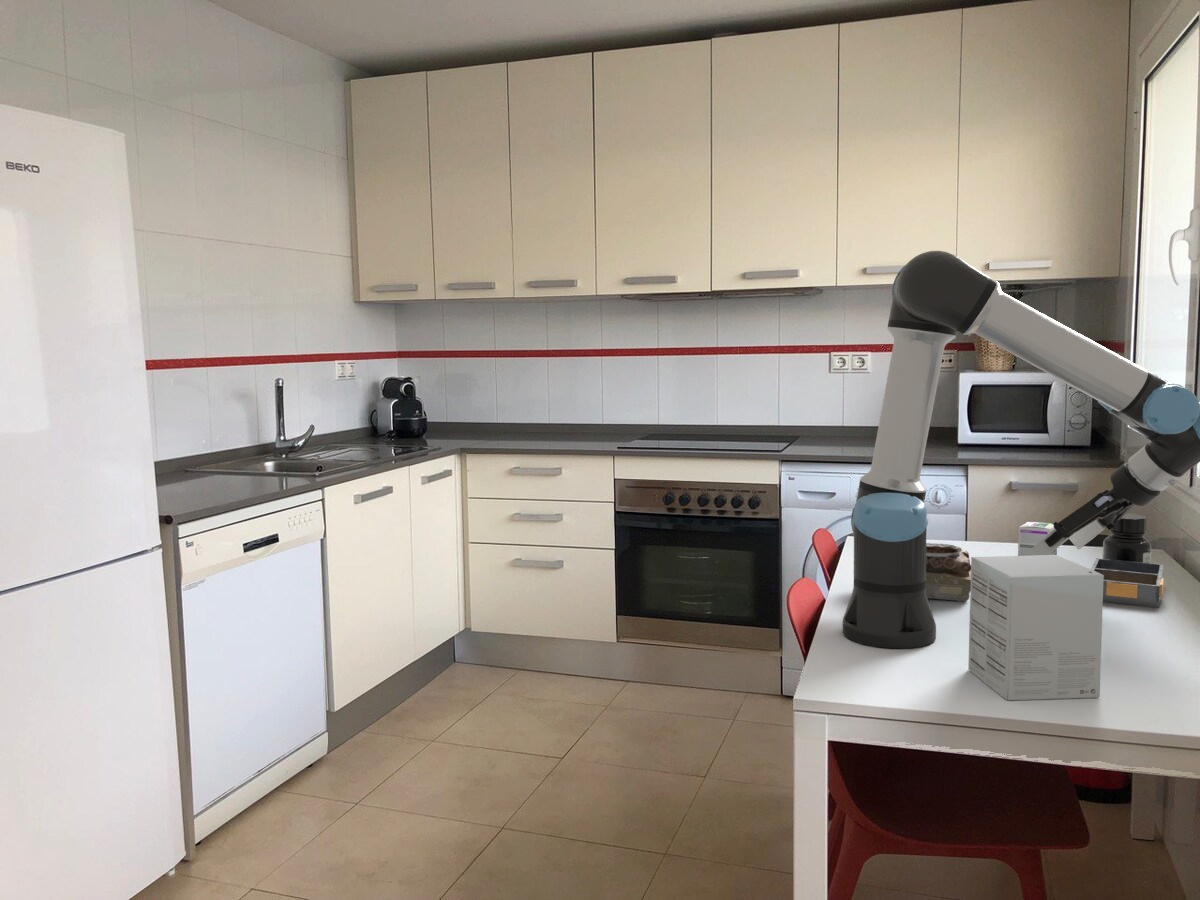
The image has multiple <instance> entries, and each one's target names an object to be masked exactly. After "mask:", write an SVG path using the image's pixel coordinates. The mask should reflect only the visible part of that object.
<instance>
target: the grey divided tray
mask: <svg viewBox="0 0 1200 900" xmlns="http://www.w3.org/2000/svg"><path fill="white" fill-rule="evenodd" d="M1164 566H1165V565H1164V564H1163V563H1162V564H1161V563H1152V562H1151V563H1143V562H1132V561H1121V560H1110V559H1103V558H1097V557H1096V558H1095V560H1094V562H1093V564H1092V566H1091V568H1090V569H1091V570H1093V571H1096V572H1098V573H1100V574H1102V575H1104V581H1103V603H1104V602H1105V603H1113V604H1120V605H1121V604H1122V605H1130V606H1131V605H1132V606H1139V607H1147V608H1148V607H1150V608H1159V607H1160V602H1161V598H1163V594H1164V581H1165V580H1164Z"/></svg>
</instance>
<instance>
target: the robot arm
mask: <svg viewBox="0 0 1200 900" xmlns="http://www.w3.org/2000/svg"><path fill="white" fill-rule="evenodd" d="M1000 285H1001V284H1000V282H998V281H997V280H996V279H994V278H991V277H990V276H988V275H987V274H984V273H983V272H981V271H980V270H978V269H976V268H975V267H974V266H972V265H970V264H969V263H968V262H966V261H964V260H963V259H962V258H960V257H958V255H955V254H952V253H950V252H948V251H943V250H931V251H930V250H929V251H925V252H921V253H920V254H917V255H915V257H913V258H911V259H910V260H909V261H907V263H906V264H905V265H904V266H903V267H901V268H900V270H899V271H898V273H897V274H896V275H895V278H894V281H893V284H892V289H891V295H892V297H891V299H892V300H891V301H892V302H891V306H890V312H889V318H888V322H887V330H888V332H889V333H890V334H891V336H892V337H893V345H892V350H891V355H890V356H891V357H890V362H889V366H888V372H887V377H886V384H885V388H884V389H885V390H884V394H883V398H882V399H883V400H882V406H881V411H880V416H879V422H878V428H877V431H876V432H877V434H876V439H875V444H874V450H873V456H872V460H871V461H872V462H871V466H870V470H868V472H867V473H865V474H863V475H862V476H861V477H860V479H859V485H858V489H857V496H856V501H855V504H854V507H853V509H852V511H851V517H850V525H851V530H852V533H853V587H852V591H851V595H850V598H849V601H848V604H847V607H846V609H845V612H844V615H843V617H842V634H843V636H844V637H846V638H847V639H849V640H852V641H853V642H855V641H856V642H855V643H858V642H859V644H862V643H863V644H862V645H866V644H868V645H867V646H871V645H872V647H878V648H886V649H887V648H889V649H911V648H919V647H924V646H927V645H931V644H932V643H934V642H935V641H936V638H937V624H936V621H935V618H934V615H933V611H932V609H931V605H930V603H929V598H927V596H926V543H927V527H928V525H929V516H928V513H927V507H926V504H925V501H926V495H927V488H926V487H925V485H924V484H923V482H922V481H921V473H922V469H923V464H924V457H925V451H926V447H927V442H928V441H927V440H928V436H929V430H930V426H931V422H932V421H931V419H932V415H933V409H934V406H935V405H934V404H935V401H936V395H937V394H936V393H937V389H938V384H939V378H940V373H941V367H942V363H943V356H944V351H945V347H946V345H947V344H948V343H950V342H952V341H953V340H955V339H956V337H957V332H958V333H960V334H961V335H963V336H965V335H967V336H968V335H970V334H975V335H977V336H979V338H980V337H981V338H983V339H984V340H986V341H987V342H990V343H992V344H993V345H996V346H997V347H999V348H1001V349H1002V350H1004V351H1007V352H1008V353H1010V354H1012V355H1014V356H1016V357H1017V358H1019V359H1021V360H1023V361H1025V362H1026V363H1028V364H1030V365H1031V366H1034V367H1036V368H1037V369H1039V370H1041V371H1043V372H1045V373H1047V374H1048V375H1050V376H1052V377H1054V378H1056V379H1057V380H1060V381H1061V382H1063V383H1065V384H1066V385H1068V386H1070V387H1072V388H1074V389H1076V390H1078V391H1080V392H1081V393H1083V394H1085V395H1086V396H1089V397H1091V398H1092V399H1094V400H1096V401H1097V403H1098V404H1099V405H1100V406H1102V407H1103V409H1105V410H1106V411H1108V413H1109V414H1110V415H1113V416H1115V417H1116V418H1118V419H1119V420H1121V421H1122V422H1123V423H1125V424H1126V425H1127V426H1129V427H1131V429H1133V430H1135V431H1137V432H1138V433H1140V434H1141V435H1142V436H1143V437H1144V438H1145V439H1147V440H1148V441H1149V442H1147V443H1146V444H1145V445H1143V447H1141V448H1140V449H1139V450H1137V452H1135V453H1134V454H1133V455H1131V456H1130V457H1129V458H1128V460H1127V461H1128V462H1127V461H1126V462H1124V463H1122V464H1121V465H1120V466H1119V467H1118V468H1116V469H1115V471H1113V472H1112V473H1111V474H1110V483H1111V484H1112V489H1110V490H1108V489H1106V490H1105V491H1103V492H1099V493H1097V494H1096V496H1094V497H1092V499H1090V500H1089V501H1087V502H1086V503H1085V504H1083V505H1082V506H1080V507H1079V508H1077V509H1076V510H1074V511H1073V512H1072V513H1070V514H1069V515H1068V516H1066V517H1064V518H1063V519H1061V520H1060V521H1059V522H1057V521H1055V522H1053V523H1052V524H1053V525H1054V526H1053V527H1054V528H1055V529H1054V530H1053V531H1052V532H1050V533H1049V534H1048V535H1047V536H1046V537H1044V538H1043V539H1042V540H1041V541H1040V542H1038V543H1037V544H1036V545H1035V546H1034V547H1033V548H1032V549H1033V551H1034V552H1035V553H1036V554H1037V555H1050V554H1051V553H1052V552H1053V551H1055V550H1056V549H1057V550H1058V549H1059V548H1060V547H1061V546H1062V545H1063V544H1064V543H1065V542H1067V541H1068V540H1069V541H1070V542H1071V543H1072V544H1073V545H1074V547H1075V548H1076V549H1077V550H1080V549H1082V548H1083V547H1084V546H1086V545H1087V544H1089V542H1091V541H1092V540H1093V539H1095V537H1097V536H1098V535H1099V534H1100V533H1102V532H1103V531H1104V530H1106V529H1107V530H1108V531H1109V530H1111V529H1113V528H1114V526H1113V524H1114V523H1117V522H1118V521H1119V520H1120V519H1121V518H1122V517H1123V516H1124V515H1125V514H1127V513H1128V511H1129V510H1130V509H1132V508H1133V506H1137V507H1144V506H1146V505H1148V504H1150V502H1152V501H1153V500H1154V499H1155V498H1157V497H1158V496H1159V495H1160V493H1161V492H1162V491H1165V490H1166V489H1167V488H1168V487H1170V486H1172V487H1176V486H1178V482H1177V481H1176V480H1178V479H1180V478H1181V477H1182V476H1184V475H1185V474H1186V473H1188V471H1190V470H1191V469H1193V468H1194V467H1195V466H1196V465H1199V463H1200V401H1199V399H1198V397H1197V395H1195V393H1194V392H1193V391H1192V390H1190V389H1189V388H1186V387H1184V386H1183V385H1181V384H1177V383H1176V384H1175V383H1171V382H1169V381H1167V380H1165V379H1163V378H1162V377H1160V376H1158V375H1157V374H1154V373H1152V372H1151V371H1149V370H1147V369H1146V368H1143V367H1142V366H1140V365H1139V364H1136V363H1134V362H1133V361H1131V360H1129V359H1128V358H1125V357H1123V356H1121V355H1119V354H1118V353H1116V352H1114V351H1112V350H1110V349H1109V348H1106V347H1105V346H1103V345H1101V344H1099V343H1097V342H1095V341H1094V340H1092V339H1090V338H1088V337H1086V336H1084V335H1083V334H1081V333H1078V332H1077V331H1075V330H1073V329H1072V328H1069V327H1067V326H1066V325H1064V324H1063V323H1060V322H1058V321H1056V320H1055V319H1053V318H1051V317H1049V316H1047V315H1046V314H1044V313H1041V312H1039V310H1036V309H1034V308H1033V307H1031V306H1029V305H1028V304H1025V303H1023V302H1021V301H1019V300H1018V299H1016V298H1014V297H1012V296H1010V295H1008V294H1007V293H1005V292H1003V291H1002V288H1001V286H1000ZM1112 523H1113V524H1112Z"/></svg>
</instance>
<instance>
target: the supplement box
mask: <svg viewBox="0 0 1200 900" xmlns="http://www.w3.org/2000/svg"><path fill="white" fill-rule="evenodd" d="M970 564H971V590H970V594H969V595H970V596H969V630H968V631H969V632H968V662H967V663H968V670H969V671H970V672H971V673H972V674H974V675H975V676H976V677H978V679H980V680H981V681H982V682H983V683H985V684H986V685H987V686H988V687H990V689H992V690H993V691H994V692H996V693H997V694H998V695H999V696H1001V698H1003V699H1004V700H1005V701H1032V700H1061V699H1062V700H1063V699H1064V700H1067V699H1068V700H1069V699H1093V698H1096V699H1097V698H1099V697H1100V696H1101V695H1100V694H1101V670H1102V669H1101V663H1102V637H1103V636H1102V635H1103V634H1102V632H1103V631H1102V630H1103V608H1104V607H1103V603H1104V602H1103V581H1104V575H1102V574H1100V573H1098V572H1096V571H1093V570H1091V568H1089V567H1086V566H1083V565H1080V564H1079V563H1076V562H1075V561H1071V560H1069V559H1067V558H1064V557H1062V556H1059V555H1031V556H1018V555H1005V556H1002V555H1001V556H971V557H970Z"/></svg>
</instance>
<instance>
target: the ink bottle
mask: <svg viewBox="0 0 1200 900" xmlns="http://www.w3.org/2000/svg"><path fill="white" fill-rule="evenodd" d="M1147 518H1148V517H1147V516H1146V515H1141V514H1137V513H1136V514H1135V513H1125V515H1124V516H1123V517H1122V518H1121V519H1120V520H1119V521H1118V522H1117V523H1114V524H1113V523H1112V524H1113V526H1114V528H1113V529H1111V530H1108V531H1109V533H1111V534H1109V535H1108V536H1106V537H1105V538H1104V539H1103V542H1102V559H1110V560H1121V561H1132V562H1143V563H1152V561H1151V560H1152V543H1151V542H1150V541H1149V540H1148V539H1147V538H1146V537H1145V535H1147V521H1148V520H1147Z"/></svg>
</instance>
